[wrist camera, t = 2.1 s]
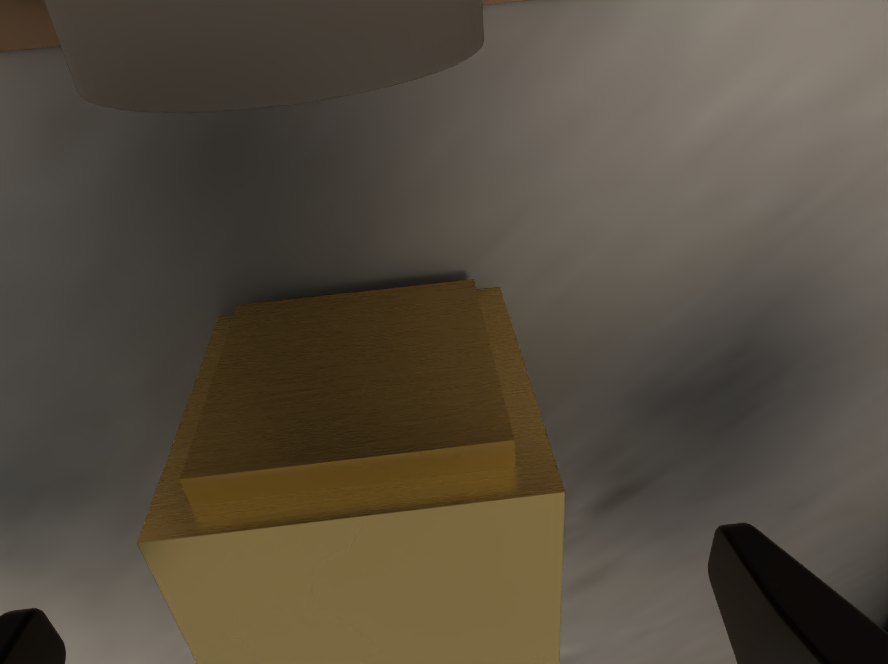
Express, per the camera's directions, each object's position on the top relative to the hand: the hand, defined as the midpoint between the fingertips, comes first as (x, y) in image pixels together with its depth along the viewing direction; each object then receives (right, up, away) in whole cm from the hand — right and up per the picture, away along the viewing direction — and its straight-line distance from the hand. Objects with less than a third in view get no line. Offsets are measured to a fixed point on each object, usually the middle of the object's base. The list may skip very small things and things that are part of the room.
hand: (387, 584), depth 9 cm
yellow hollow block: (0, +2, +3) cm, 4 cm away
